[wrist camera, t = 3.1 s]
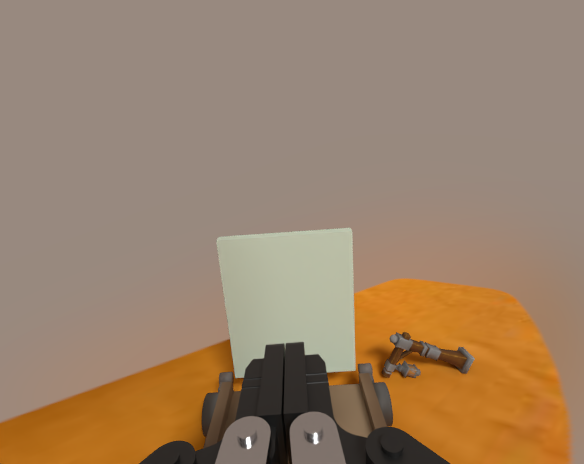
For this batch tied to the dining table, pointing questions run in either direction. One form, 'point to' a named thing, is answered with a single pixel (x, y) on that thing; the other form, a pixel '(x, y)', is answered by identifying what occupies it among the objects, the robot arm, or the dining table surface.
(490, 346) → the dining table surface
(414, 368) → the wooden post with brackets
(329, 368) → the panel
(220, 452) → the robot arm
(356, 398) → the flatbed
